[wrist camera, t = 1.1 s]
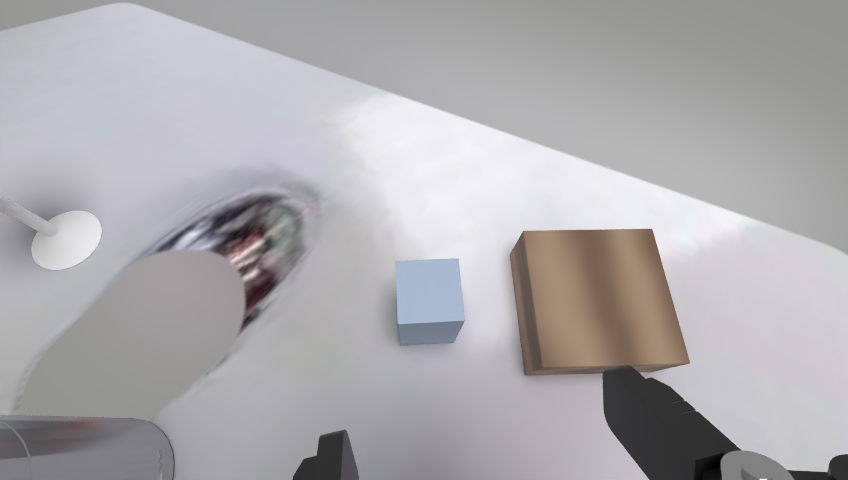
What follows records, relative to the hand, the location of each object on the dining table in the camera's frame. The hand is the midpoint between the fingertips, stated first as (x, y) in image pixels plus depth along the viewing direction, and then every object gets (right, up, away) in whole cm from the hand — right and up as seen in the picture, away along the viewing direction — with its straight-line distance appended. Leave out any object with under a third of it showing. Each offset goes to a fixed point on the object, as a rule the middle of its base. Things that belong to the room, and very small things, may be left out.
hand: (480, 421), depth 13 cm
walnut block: (+13, -1, +28) cm, 32 cm away
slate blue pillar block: (-2, -2, +27) cm, 28 cm away
